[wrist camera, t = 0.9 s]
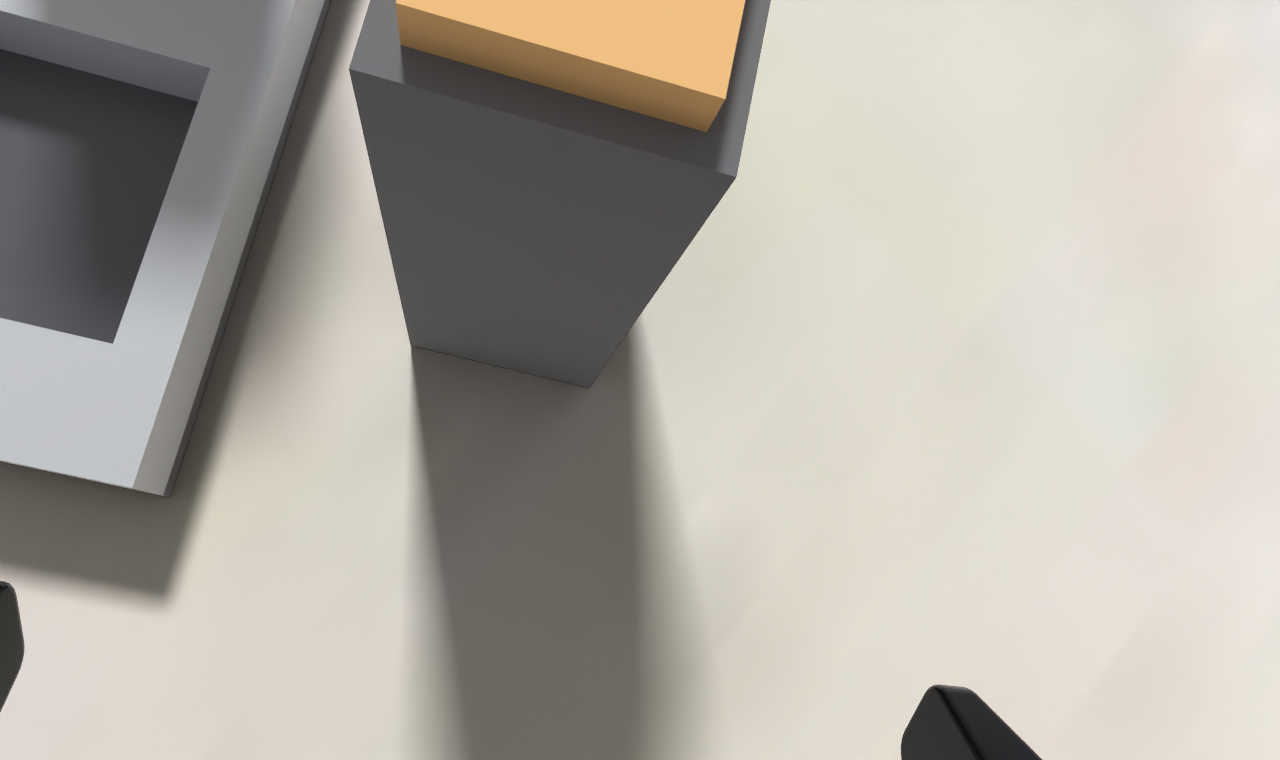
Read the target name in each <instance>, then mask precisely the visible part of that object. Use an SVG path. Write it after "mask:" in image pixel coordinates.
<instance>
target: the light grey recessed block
mask: <svg viewBox="0 0 1280 760" xmlns="http://www.w3.org/2000/svg"><path fill="white" fill-rule="evenodd" d="M330 2H331V0H0V462H4V463H9V464H14V465H19V466H23V467H28V468H33V469H37V470H42V471H47V472H52V473H56V474H61V475H66V476H71V477H75V478H80V479H85V480H90V481H94V482H99V483H104V484H108V485H113V486H118V487H123V488H127V489H132V490H137V491H142V492H146V493H151V494H156V495H161V496H165V497H170V496H171V493H172V489H173V486H174V483H175V480H176V477H177V474H178V471H179V468H180V465H181V462H182V459H183V456H184V452H185V449H186V446H187V443H188V440H189V437H190V434H191V431H192V428H193V425H194V422H195V419H196V415H197V412H198V409H199V406H200V403H201V400H202V397H203V394H204V391H205V388H206V385H207V382H208V378H209V375H210V372H211V369H212V366H213V363H214V360H215V357H216V354H217V351H218V348H219V345H220V341H221V338H222V335H223V332H224V329H225V326H226V323H227V320H228V317H229V314H230V311H231V308H232V304H233V301H234V298H235V295H236V292H237V289H238V286H239V283H240V280H241V277H242V274H243V270H244V267H245V264H246V261H247V258H248V255H249V252H250V249H251V246H252V243H253V240H254V237H255V233H256V230H257V227H258V224H259V221H260V218H261V215H262V212H263V209H264V206H265V203H266V200H267V196H268V193H269V190H270V187H271V184H272V181H273V178H274V175H275V172H276V169H277V166H278V163H279V159H280V156H281V153H282V150H283V147H284V144H285V141H286V138H287V135H288V132H289V129H290V126H291V122H292V119H293V116H294V113H295V110H296V107H297V104H298V101H299V98H300V95H301V92H302V88H303V85H304V82H305V79H306V76H307V73H308V70H309V67H310V64H311V61H312V58H313V55H314V51H315V48H316V45H317V42H318V39H319V36H320V33H321V30H322V27H323V24H324V21H325V18H326V14H327V11H328V8H329V5H330Z"/></svg>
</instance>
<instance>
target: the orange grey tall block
mask: <svg viewBox="0 0 1280 760" xmlns="http://www.w3.org/2000/svg"><path fill="white" fill-rule="evenodd" d="M770 1H771V0H370V3H369V6H368V10H367V13H366V16H365V19H364V22H363V26H362V29H361V32H360V35H359V38H358V42H357V45H356V48H355V51H354V54H353V58H352V61H351V64H350V67H349V71H350V75H351V80H352V84H353V89H354V93H355V98H356V102H357V107H358V111H359V116H360V120H361V125H362V129H363V134H364V138H365V143H366V147H367V151H368V156H369V160H370V165H371V169H372V174H373V178H374V183H375V187H376V192H377V196H378V201H379V205H380V210H381V214H382V219H383V223H384V228H385V232H386V237H387V241H388V246H389V250H390V255H391V259H392V264H393V268H394V272H395V277H396V281H397V286H398V290H399V295H400V299H401V304H402V308H403V313H404V317H405V322H406V326H407V331H408V335H409V340H410V344H411V345H412V346H416V347H420V348H424V349H428V350H433V351H437V352H441V353H445V354H449V355H453V356H457V357H462V358H466V359H470V360H474V361H478V362H482V363H486V364H491V365H495V366H499V367H503V368H507V369H511V370H515V371H520V372H524V373H528V374H532V375H536V376H540V377H544V378H549V379H553V380H557V381H561V382H565V383H569V384H573V385H578V386H582V387H586V388H589V387H590V386H591V384H592V383H593V381H594V380H595V379H596V377H597V376H598V374H599V373H600V371H601V370H602V368H603V367H604V366H605V364H606V363H607V361H608V360H609V358H610V357H611V356H612V354H613V353H614V351H615V350H616V348H617V347H618V346H619V344H620V343H621V341H622V340H623V338H624V337H625V336H626V334H627V333H628V331H629V330H630V328H631V327H632V326H633V324H634V323H635V321H636V320H637V318H638V317H639V316H640V314H641V313H642V311H643V310H644V308H645V307H646V306H647V304H648V303H649V301H650V300H651V298H652V297H653V296H654V294H655V293H656V291H657V290H658V288H659V287H660V286H661V284H662V283H663V281H664V280H665V278H666V277H667V276H668V274H669V273H670V271H671V270H672V268H673V267H674V266H675V264H676V263H677V261H678V260H679V258H680V257H681V256H682V254H683V253H684V251H685V250H686V248H687V247H688V246H689V244H690V243H691V241H692V240H693V238H694V237H695V236H696V234H697V233H698V231H699V230H700V228H701V227H702V226H703V224H704V223H705V221H706V220H707V218H708V217H709V216H710V214H711V213H712V211H713V210H714V208H715V207H716V206H717V204H718V203H719V201H720V200H721V198H722V197H723V195H724V194H725V193H726V191H727V190H728V188H729V187H730V185H731V184H732V183H733V181H734V180H735V178H736V176H737V171H738V166H739V161H740V156H741V151H742V145H743V140H744V135H745V130H746V125H747V120H748V115H749V109H750V104H751V99H752V94H753V89H754V84H755V79H756V73H757V68H758V63H759V58H760V53H761V48H762V42H763V37H764V32H765V27H766V22H767V17H768V12H769V6H770Z"/></svg>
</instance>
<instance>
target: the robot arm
mask: <svg viewBox="0 0 1280 760" xmlns="http://www.w3.org/2000/svg"><path fill="white" fill-rule="evenodd" d="M23 656H24V638H23V632H22V626H21V620H20V614H19V608H18V602H17V596H16V592H15V589H14V588H13V587H12V586H11V585H10V584H9V583H6V582H4V581H0V712H1V710H2V708H3V705H4V703H5V701H6V699H7V697H8V695H9V692H10V690H11V688H12V686H13V684H14V681H15V679H16V677H17V675H18V673H19V670H20V667H21V664H22V661H23ZM901 758H902V760H1042V759H1041V758H1040V757H1039V756H1038V755H1037V754H1036V753H1035V752H1034V751H1033V750H1032V749H1031V748H1030V747H1029V746H1028V745H1027V744H1026V743H1025V742H1024V741H1023V740H1022V739H1021V738H1020V737H1019V736H1018V735H1017V734H1016V733H1015V732H1014V731H1013V730H1012V729H1011V728H1010V727H1009V726H1008V725H1007V724H1006V723H1005V722H1004V721H1003V720H1002V719H1001V718H1000V717H999V716H998V715H997V714H996V713H995V712H994V711H993V710H992V709H991V708H990V707H989V706H988V705H987V704H986V703H985V702H984V701H983V700H982V699H981V698H980V697H979V696H978V695H977V694H976V693H974V692H973V691H972V690H970V689H968V688H965V687H957V686H948V685H933V686H932V687H930V688H929V689H928V690H927V691H926V692H925V694H924V696H923V698H922V700H921V702H920V703H919V705H918V707H917V709H916V711H915V713H914V715H913V716H912V718H911V720H910V722H909V724H908V726H907V728H906V729H905V732H904V734H903V738H902V742H901Z"/></svg>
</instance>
